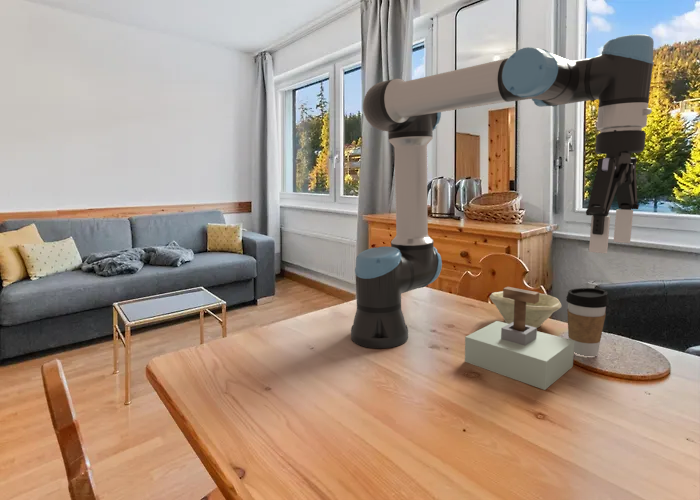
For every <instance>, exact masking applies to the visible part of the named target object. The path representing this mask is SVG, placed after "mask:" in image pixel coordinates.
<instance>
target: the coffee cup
mask: <svg viewBox="0 0 700 500" xmlns="http://www.w3.org/2000/svg"><path fill="white" fill-rule="evenodd" d="M565 299H566V302H567V303H568V304H567V306H568V307H567V310H566V311H567V313H566V314H567V333H568V335H567V336H568V339H570V340H574V352H575V353H577V354H580V355H584V356H596V355H597V354H598V355H599V351H600V349H599V348H600V345H601V340H602V336H603V335H602V334H603V329H604V325H605V320H606V315H607V314H606V308H607V307H608V306H609V303H610V301H609V294H608V291H607V290H604V289H601V288H597V287H596V288H595V287H581V288H580V287H579V288H571V289H569V290H568V291H567V296H566V298H565ZM598 355H597V356H598Z"/></svg>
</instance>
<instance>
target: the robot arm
mask: <svg viewBox="0 0 700 500" xmlns="http://www.w3.org/2000/svg"><path fill="white" fill-rule="evenodd" d="M654 65H655V62H654V38H653V37H651V36H650V35H648V34H643V33H642V34H640V33H638V34H628V35H623V36H618V37H616V38H612V39H610V40H608V41H606V42H605V43H604V44H603V47H602V51H601V54H599V55H597V56H593V57H589V58H583V59H579V60H578V59H577V60H569V59H566V58H564V57H561V56H559V55H557V54H553V53H551V52H550V51H548V50H546V49H544V48H539V47H531V46H530V47H523V48H520V49H518V50H516V51H515V52H514V53H513V54H511V55H509V57H508V58H504V59H499V60H495V61H490V62H486V63H485V62H484V63H481V64H478V65H477V64H476V65H472V66H468V67H464V68H459V69H454V70H450V71H446V72H441V73H437V74H433V75H428V76H423V77H420V78H415V79H410V80H404V79H401V78H393V79H389V80H388V79H387V80H385V81H380V82H378V83H377V82H376V83H375V84H374V85H372V86H371V87H370V88H369V89H368V91H367V92H366V94H365V96H364V98H363V104H362V110H363V114H364V117H365V119H366V121H367V123H369V124H370V125H371V126H372V127H373V128H375V129H377V130H379V131H382V132H388V135H387V136H388V142H389V144H391V145H392V146H393V148H394V149H393V150H394V186H395V187H394V189H395V225H396V226H395V227H396V228H395V229H396V231H395V232H396V235H395V236H394V238H393V239H392V240H391V243H390V246H379V247H371V248H367V249H366V250H365V249H364V250H363V251H361V252H359V254H357V256H356V258H355V269H354V274H355V290H356V294H355V296H356V311H355V314H354V319H353V324H352V326H351V328H350V339H351V341H352V340H353V341H352V342H353V343H354V342H355V343H354V344H356V345H358V346H360V345H361V347H364V348H370V349H387V348H388V349H390V348H395V347H397V346H401V345H403V344H404V343H406V342H407V341H408V340H409V327H408V326H407V324H406V321H405V317H404V313H403V311H402V295H403V294H404V293H408V292H411V291H414V290H417V289H421V288H422V289H423V288H425V287H427V286H428V285H430V284H432V283H434V282H435V281H436V280H437V279H438V278H439V276H440V274H441V271H442V266H443V261H442V256H441V254H440V253H439V252H438V249H437V247H435V246H434V239H433V238H432V237H430V235H429V233H428V232H429V231H428V230H429V228H428V222H429V221H428V144H429V143H430V142H431V141H432V140H433V131H435V129H436V128H437V126H438V124H439V123H440V121H441V118H442V113H443V112H450V111H451V112H452V111H455V110H456V111H457V110H463V109H469V108H475V107H482V106H488V105H495V104H501V103H509V102H517V101H524V100H531V101H532V102H533V103H534V105H536V106H537V107H554V108H555V107H557V106H560V105H566V104H573V103H581V102H586V101H587V102H588V101H597V100H598V108H597V119H596V130H597V131H599V132H598V133H597V135H595V149H594V151H595V153H596V154H597V155H605V157H603V158H598V160H597V167H596V172H595V173H596V174H595V176H594V181H593V185H592V189H591V191H590V192H591V193H590V197H589V201H588V205H587V208H586V210H585V215H586V216H590V217H591V221H590V231H589V232H590V234H589V235H590V236H589V248H588V252H589V253H597V254H608V249H609V248H608V245H609V236H610V235H609V234H610V225H611V216H610V215H609V213H610V210H611V207H612V206H613V205H612V204H613V201H614V198H615V196H616V200H617V201H616V202H617V207H618V209H616V210H615V220H614V232H613V241H612V242H614V243H622V244H623V243H624V244H630V243H631V240H632V239H631V237H632V236H631V235H632V227H633V217H634V210H639V208H640V204H639V201H638V185H637V183H638V182H637V162H638V160H637V157H632V156H631V155H632V154H634V153H636V154H637V153H642V152H643V151H645V147H646V146H645V145H646V137H647V132H645V130H642V129H643V128H645V127H647V122H648V115H650V114H652V111H653V110H652V108H649V102H650V91H651V82H652V75H653V68H654Z"/></svg>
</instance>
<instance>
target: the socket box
mask: <svg viewBox="0 0 700 500" xmlns="http://www.w3.org/2000/svg"><path fill="white" fill-rule="evenodd" d="M513 323H514V322H512V323H510V324H507V323H506V322H503V321H500V320H495V321H494V322H491V323H490V324H487V325H486V326H484V327H482V328H480V329H478V330H476V331H474V332H471V333H470V334H468V335H466V336H464V343H465V344H464V362H465V363H466V364H467V363H468V364H471V365H473V366H476V367H478V368H482V369H484V370H487V371H490V372H492V373H496V374H498V375H501V376H503V377H504V376H505V377H507V378H509V379H513V380H515V381H518V382H520V383H523V384H527V385H529V386H532V387H536V388H538V389H540V390H544V391H546V390H547V389H548V388H549V387H550V386H552V385H553V384H554V383H555V382H556V381H557V380H559V379H560V378H561V377H562V376H564V374H566V373H567V372H568V371H569V370H570V369H572V368H573V366H574V356H575V355H574V340H570V339H569V338H565V337H563V336H558V335H553V334H550V333H546V332H541V331H538V328H536V327H532V326H528V325H525V331H524V332H521V331H517V330H514V329H513Z"/></svg>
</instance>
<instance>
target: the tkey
mask: <svg viewBox="0 0 700 500" xmlns="http://www.w3.org/2000/svg"><path fill="white" fill-rule="evenodd" d="M502 291H503V297H504V298H509V299H514V323H513V329H514V330H517V331H521V332H524V331H525V320H526V302H528V303H533V304H535V303H537V302H539V293H540V292H539V291H532V290H527V289H521V288H516V287H511V286H505V287H503V289H502Z"/></svg>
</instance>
